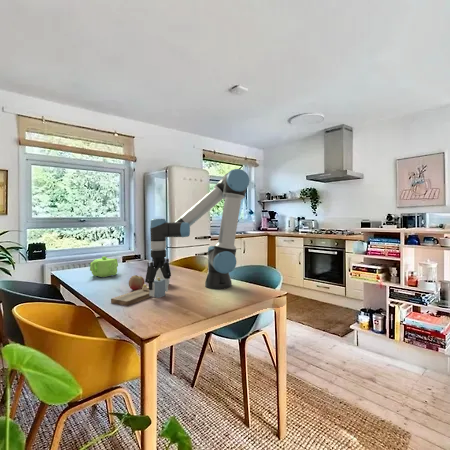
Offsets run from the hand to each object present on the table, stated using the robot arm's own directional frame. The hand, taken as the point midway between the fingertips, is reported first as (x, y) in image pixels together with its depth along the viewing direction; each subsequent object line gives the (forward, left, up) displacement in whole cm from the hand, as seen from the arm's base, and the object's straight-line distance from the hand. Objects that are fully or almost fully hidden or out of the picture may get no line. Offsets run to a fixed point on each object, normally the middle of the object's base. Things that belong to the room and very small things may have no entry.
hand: (158, 293), depth 146 cm
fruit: (+18, -4, -1) cm, 19 cm away
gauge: (+4, 0, -1) cm, 4 cm away
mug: (+14, -18, -1) cm, 23 cm away
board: (+7, +8, -1) cm, 11 cm away
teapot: (+63, -23, -1) cm, 67 cm away
